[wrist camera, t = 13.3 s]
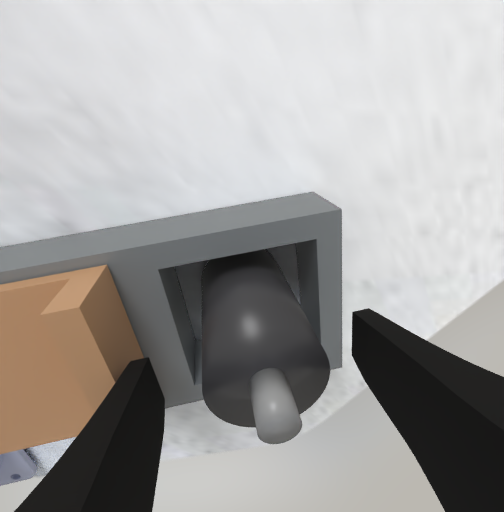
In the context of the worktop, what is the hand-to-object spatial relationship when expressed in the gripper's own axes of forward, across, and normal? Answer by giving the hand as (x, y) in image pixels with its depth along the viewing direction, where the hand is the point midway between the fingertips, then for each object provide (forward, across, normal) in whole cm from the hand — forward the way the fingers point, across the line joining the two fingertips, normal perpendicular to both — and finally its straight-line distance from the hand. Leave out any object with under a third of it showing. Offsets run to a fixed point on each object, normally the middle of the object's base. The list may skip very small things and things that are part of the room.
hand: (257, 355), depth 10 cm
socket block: (+5, +3, 0) cm, 6 cm away
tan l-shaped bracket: (+2, +8, 0) cm, 8 cm away
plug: (+5, 0, 0) cm, 5 cm away
